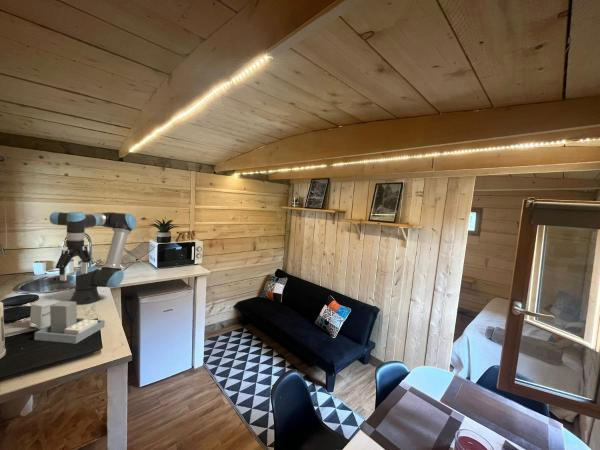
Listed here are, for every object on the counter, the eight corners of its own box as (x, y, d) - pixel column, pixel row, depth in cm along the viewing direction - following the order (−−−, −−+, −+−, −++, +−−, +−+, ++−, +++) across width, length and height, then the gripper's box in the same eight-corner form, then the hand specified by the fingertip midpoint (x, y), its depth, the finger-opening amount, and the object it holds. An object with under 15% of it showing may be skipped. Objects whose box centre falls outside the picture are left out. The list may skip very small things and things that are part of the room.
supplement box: (39, 329, 132) (41, 306, 131) (29, 327, 133) (30, 304, 133) (55, 324, 139) (57, 301, 138) (45, 321, 140) (46, 299, 140)
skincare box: (77, 330, 134) (78, 301, 133) (65, 336, 126) (67, 306, 126) (60, 328, 133) (62, 299, 133) (47, 335, 126) (49, 304, 125)
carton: (84, 328, 136) (85, 317, 136) (97, 329, 136) (97, 318, 136) (63, 338, 124) (64, 327, 124) (78, 340, 124) (78, 328, 124)
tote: (68, 325, 139) (68, 317, 139) (104, 328, 139) (104, 320, 139) (34, 341, 121) (34, 332, 121) (75, 345, 121) (76, 336, 121)
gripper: (86, 236, 151) (85, 270, 153) (46, 242, 127) (45, 282, 128) (99, 237, 152) (98, 271, 153) (61, 243, 127) (60, 284, 129)
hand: (74, 276), depth 141 cm, fingers open, 13 cm apart
